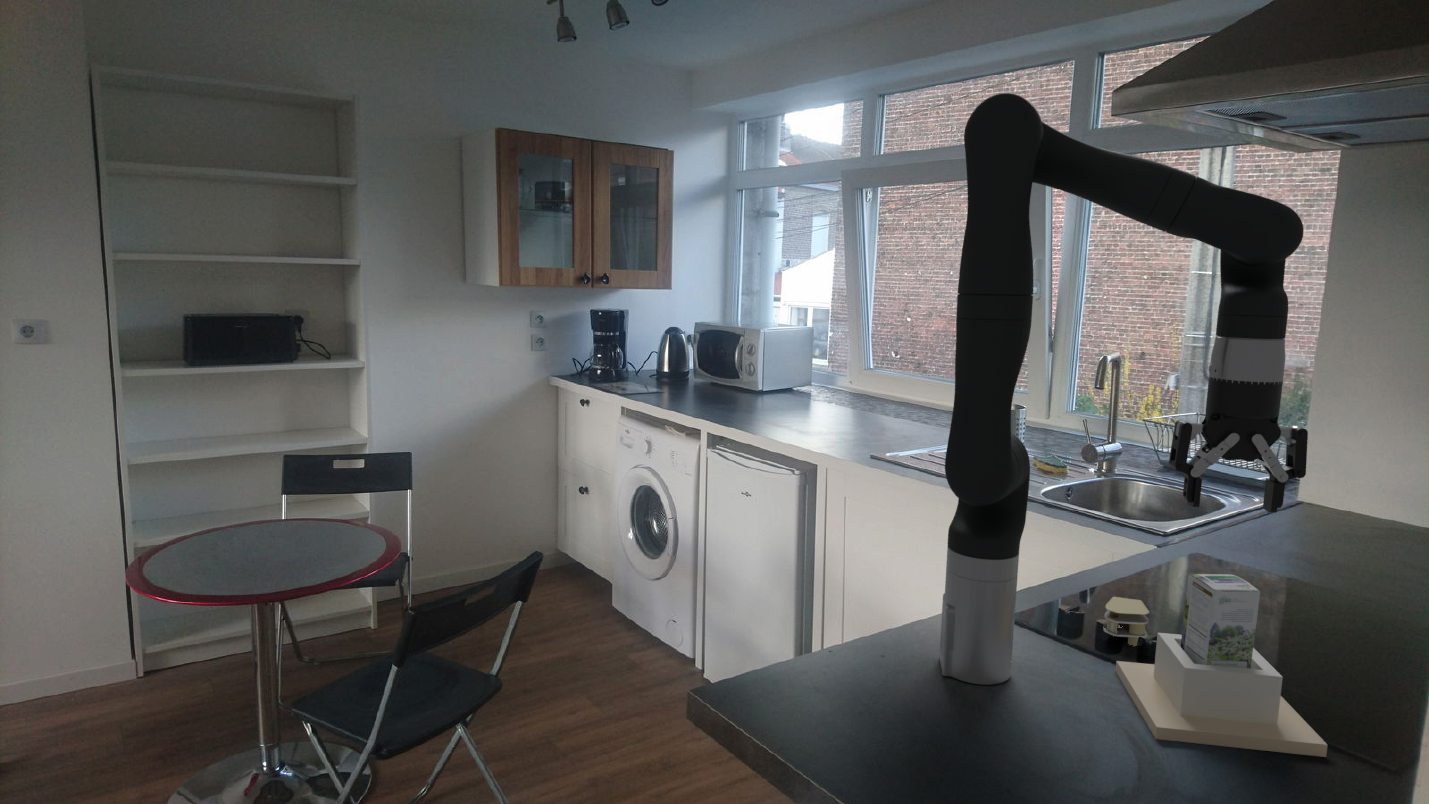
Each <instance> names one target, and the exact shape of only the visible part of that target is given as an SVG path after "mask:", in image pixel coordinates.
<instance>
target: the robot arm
mask: <svg viewBox="0 0 1429 804" xmlns="http://www.w3.org/2000/svg"><path fill="white" fill-rule="evenodd" d="M963 143H964V152H965V164H966V165H965V166H966V167H965V168H966V180H967V181H966V184H967V185H966V186H967V191H966V192H967V210H966V211H967V215H966V223H965V229H964V236H963V243H962V248H961V256H960V265H959V273H958V274H959V275H958V285H957V295H956V318H955V326H956V327H955V329H956V331H955V334H956V335H955V337H956V338H955V356H954V357H955V359H954V399H953V406H952V407H953V408H952V414H951V422H950V427H949V434H948V439H947V440H948V441H947V446H946V451H945V452H946V453H945V460H944V473H945V478H946V481H947V484H948V486H949V488H950V490H951V491H952V493H953V494H954V496H956V497H957V499H958V500H957V507H956V508H955V513H954V516H953V518H952V520H951V523H950V525H949V526H948V533H947V550H946V569H945V585H944V586H945V587H944V593H943V594H942V607H941V608H942V609H941V623H940V624H941V625H940V627H941V628H940V644H939V662H940V668H941V675H942V676H944V677H952V678H954V679H957V680H959V681H962V682H966V683H969V684H974V685H975V684H976V685H987V686H988V685H998V684H1002V683H1004V682H1007V681H1008V680H1009V679H1010V678H1011V675H1012V665H1013V649H1014V631H1015V617H1016V606H1017V605H1016V601H1017V586H1018V577H1019V575H1018V574H1019V561H1020V560H1019V559H1020V547H1021V540H1022V536H1023V532H1024V530H1025V526H1026V520H1027V511H1028V502H1029V500H1028V499H1029V490H1030V489H1029V488H1030V478H1031V477H1030V476H1031V462H1030V457H1029V453H1028V449H1027V448H1026V446H1025V445H1024V442H1022V440H1021V439H1020V438H1019V437H1018V436H1017V435H1015V434H1013V433H1012V405H1013V397H1014V394H1015V393H1014V392H1015V388H1016V385H1017V382H1018V379H1019V375H1020V372H1021V368H1022V366H1023V363H1024V360H1025V356H1026V353H1027V350H1028V345H1029V341H1030V336H1031V329H1032V328H1031V327H1032V318H1033V317H1032V316H1033V301H1034V259H1033V255H1034V254H1033V246H1032V245H1033V244H1032V243H1033V242H1032V236H1031V235H1032V234H1031V224H1030V223H1031V221H1030V207H1031V206H1030V205H1031V204H1030V203H1031V195H1032V187H1033V184H1038V185H1041V186H1042V185H1043V186H1046V187H1049V188H1053V189H1056V190H1059V191H1063V192H1065V193H1068V194H1070V195H1074V196H1076V197H1079V198H1082V199H1084V200H1086V201H1089V202H1091V203H1094V204H1096V205H1098V206H1100V207H1103V208H1106V209H1108V210H1110V211H1112V212H1114V213H1117V214H1120V215H1121V216H1124V217H1126V218H1128V219H1131V220H1134V221H1136V222H1138V223H1141V224H1144V225H1146V226H1149V227H1151V228H1153V229H1156V230H1160V231H1162V232H1164V233H1167V234H1169V235H1172V236H1175V237H1180V238H1184V239H1192V240H1193V239H1194V240H1195V241H1198V242H1201V243H1202V244H1203V243H1204V244H1206V245H1207V246H1211V247H1213V248H1215V249H1218V250H1220V253H1219V255H1220V257H1219V258H1220V259H1219V260H1220V261H1219V265H1220V266H1219V267H1220V274H1219V275H1220V288H1221V289H1220V300H1219V304H1218V305H1219V306H1218V311H1217V319H1216V320H1217V321H1216V328H1215V330H1216V331H1215V338H1214V343H1213V347H1212V351H1211V355H1210V363H1209V365H1208V373H1209V374H1208V385H1207V392H1206V403H1205V414H1204V415H1205V416H1204V418H1203V420H1202V422H1201V423H1196V422H1187V421H1185V420H1184V419H1178V420H1176V421H1175V423H1174V429H1173V434H1172V439H1171V440H1172V441H1171V446H1170V452H1169V459H1168V465H1169V466H1170V467H1171V468H1173V469H1175V470H1176V471H1177V472H1181V473H1183V474H1184V478H1183V479H1184V480H1183V488H1182V489H1183V490H1182V498H1183V500H1185V501H1186V502H1187V505H1189V506H1190V507H1191V508H1199V507H1200V503H1201V497H1202V496H1201V493H1202V485H1203V484H1202V483H1203V478H1202V477H1201V475H1203V473H1204V472H1206V470H1208V469H1209V468H1210V466H1213V465H1214V464H1215V463H1217V462H1219V460H1220V459H1222V460H1224V461H1225V460H1226V461H1237V460H1242V461H1244V462H1245V461H1246V462H1255V461H1257V462H1258V463H1259V464H1260V465H1261V466H1262V468H1263V469H1264V470H1265V472H1266V473H1267V474H1268V476H1269V478H1265V486H1264V493H1263V494H1264V495H1263V500H1262V502H1263V503H1262V508H1263V509H1264V510H1265V511H1266V512H1268V513H1277V511H1278V509H1281V508H1282V506H1283V504H1284V499H1285V498H1284V497H1285V490H1286V489H1285V488H1286V483H1287V482H1288V481H1289V480H1293V479H1297V478H1298V479H1302V478H1304V477H1305V476H1306V474H1307V460H1308V459H1307V457H1308V455H1307V454H1308V442H1309V441H1308V437H1309V433H1308V430H1307V429H1306V428H1304V427H1302V426H1299V425H1295V424H1292V425H1289V426H1279V421H1278V420H1279V416H1280V412H1281V411H1280V409H1281V402H1282V401H1281V399H1282V395H1283V394H1282V392H1283V391H1282V390H1283V384H1284V374H1285V366H1286V334H1287V325H1288V315H1289V297H1288V295H1287V292H1286V290H1285V288H1284V283H1285V281H1284V280H1285V274H1286V273H1285V271H1286V270H1285V269H1286V260H1287V258H1289V257H1290V256H1291V255H1292V254H1294V253H1295V252H1296V251H1297V249H1298V248H1299V247H1300V245H1301V243H1302V241H1303V237H1304V225H1303V222H1302V219H1301V218H1300V216H1299V214H1298V213H1297V212H1296V210H1294V209H1293V208H1291V207H1289V206H1288V205H1286V204H1284V203H1282V202H1280V201H1276V200H1274V199H1271V198H1267V197H1266V196H1261V195H1258V194H1255V193H1250V192H1246V191H1243V190H1240V189H1239V190H1238V189H1235V188H1232V187H1225V186H1223V185H1220V184H1219V185H1218V184H1216V183H1214V182H1211V181H1209V180H1206V179H1205V178H1203V177H1200V176H1197V175H1195V174H1192V173H1189V172H1187V171H1183V170H1182V169H1178V168H1175V167H1173V166H1170V165H1167V164H1165V163H1161V162H1158V161H1154V160H1153V159H1148V158H1143V157H1140V156H1135V155H1132V154H1127V153H1123V152H1118V151H1115V150H1109V149H1107V148H1102V147H1098V146H1094V145H1092V144H1089V143H1087V142H1083V141H1081V140H1078V139H1076V138H1074V137H1071V136H1069V135H1067V134H1065V133H1063V132H1061V131H1059V130H1057V129H1055V128H1054V127H1052V126H1050V125H1049V124H1047V123H1045V122H1044V121H1042V117H1041V115H1040V114H1039V112H1038V110H1037V108H1036V107H1035V106H1034V105H1033V104H1032V103H1031V102H1030V101H1029V100H1028V99H1026V98H1025V97H1022V96H1021V95H1019V94H1016V93H1011V92H1003V93H997V94H994V95H991V96H989V97H987V98H986V99H984V100H983V101H981V103H979V104H978V105H977V106H976V107H975V109H973V111H972V113H971V114H970V116H969V118H968V119H967V122H966V124H965V128H964V133H963ZM1198 434H1200V435H1202V438H1204V440H1205V442H1204V443H1203V445H1201V446H1200V448H1199V449H1198V450H1197V451H1196V452H1195V454H1194V456H1193V457H1192V458H1191V459H1190V460H1189V461H1188V458H1189V456H1188V455H1189V451H1190V445H1191V441H1194V440H1195V439H1196V438H1197V435H1198ZM1280 438H1281V440H1282V442H1283V444H1285V445H1286V447H1285V448H1286V449H1285V466H1282V465H1281V462H1280V460H1279V458H1278V457H1277V456H1276V454H1275V452H1273V450H1272V449H1271V447H1272V446H1273V445H1274V444H1275V443H1276V442H1277V441H1278V440H1279V439H1280Z"/></svg>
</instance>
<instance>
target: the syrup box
mask: <svg viewBox="0 0 1429 804" xmlns="http://www.w3.org/2000/svg"><path fill="white" fill-rule="evenodd" d="M1260 597H1261V591H1260V590H1259V589H1258V588H1256V587H1255V586H1254V585H1252V583H1250V582H1248V581H1247V580H1245V579H1243V578H1241V577H1239V576H1237V575H1235V574H1227V573H1225V574H1222V573H1221V574H1220V573H1219V574H1218V573H1217V574H1216V573H1215V574H1212V573H1189V574H1188V578H1187V585H1186V594H1185V603H1184V604H1185V605H1184V613H1183V622H1182V632H1181V633H1182V634H1181V635H1182V639H1181V648H1182V649H1183V651H1184V652H1185V653H1186V654H1187V655H1188V657H1189V658H1190V659H1191V660H1192V662H1193V663H1194V664H1202V665H1213V666H1224V667H1235V668H1246V669H1250V668H1251V661H1252V653H1253V648H1254V644H1255V636H1256V630H1257V629H1256V628H1257V620H1258V615H1259V614H1258V613H1259V607H1260Z"/></svg>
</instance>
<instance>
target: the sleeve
mask: <svg viewBox="0 0 1429 804" xmlns="http://www.w3.org/2000/svg"><path fill="white" fill-rule="evenodd" d="M1156 634H1157V637H1156V645H1155V646H1156V647H1155V655H1154V659H1155V660H1154V663H1141V662H1132V661H1120V660H1116V661H1115V662H1116V663H1115V673H1116V674H1117V677H1118V678H1119V680H1120V681H1121V683H1122V685H1123V687H1124V688H1125V690H1126V692H1127V693H1128V695H1129V696H1130V698H1131V700H1132V701H1133V704H1134V705H1135V707H1136V708H1137V710H1138V712H1139V713H1140V715H1141V717H1142V718H1143V721H1144V722H1145V723H1146V725H1147V727H1148V729H1149V730H1150V733H1152V735H1153V737H1154V740H1160V741H1161V740H1162V741H1171V742H1180V743H1181V742H1183V743H1190V744H1200V745H1206V746H1207V745H1210V746H1217V747H1218V746H1219V747H1227V748H1228V747H1229V748H1236V749H1238V748H1239V749H1247V750H1257V751H1268V752H1276V753H1285V754H1294V755H1303V756H1312V757H1322V758H1323V757H1324V758H1326V757H1327V752H1328V747H1329V746H1328V744H1327V742H1325V741H1324V739H1323V738H1322V737H1321V736H1320V735H1319V734H1318V733H1317V732H1316V731H1315V730H1314V729H1313V727H1311V726H1310V724H1308V722H1307V721H1306V720H1304V718H1303V717H1302V716H1301V715H1300V714H1299V713H1298V712H1297V711H1296V709H1294V708H1293V707H1292V706H1291V705H1290V704H1289V702H1287V700H1285V698H1284V697H1283V696H1282V695H1281V694H1282V686H1283V678H1284V677H1283V675H1281V674H1280V672H1278V670H1276V669H1275V668H1274V667H1273V666H1272V665H1271V664H1270V663H1269V661H1268V660H1266V659H1265V658H1264V657H1263V655H1262V654H1260V653H1259V651H1257V650H1256V649H1255V647H1253V653H1252V661H1251V668H1250V669H1246V668H1235V667H1224V666H1213V665H1202V664H1194V663H1193V662H1192V660H1191V659H1190V658H1189V657H1188V655H1187V654H1186V653H1185V652H1184V651H1183V649H1182V648H1181V639H1182V634H1178V633H1166V632H1157V633H1156Z"/></svg>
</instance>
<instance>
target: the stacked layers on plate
mask: <svg viewBox="0 0 1429 804" xmlns="http://www.w3.org/2000/svg"><path fill="white" fill-rule="evenodd" d="M1105 609H1106V611H1105V612H1104V619H1105V620H1106V623H1107V629H1106V628H1104V627H1103V632H1104V633H1107V634H1109V635H1111V636H1112V637H1114V636H1115V637H1121V638H1122V637H1123V638H1126V640H1127V645H1128V644H1129V645H1128V646H1130V645H1133V646H1132V647H1135V646H1136V645H1137V641H1138V638H1139V637H1144V638H1146V637H1148V632H1147V630H1146V625H1147V624H1148V623H1149V618H1148V616H1146V615H1148V614H1150V611H1149V609H1148V608H1147V606H1146V605H1145V604H1144V602H1143V601H1142V600H1140V599H1134V598H1127V597H1119V596H1112V597H1111V598H1110V600H1109V601H1107V603H1106V604H1105ZM1118 624H1119V625H1120V627H1122V626H1123V627H1122V628H1123V629H1122V630H1119V631H1118V630H1117V628H1118Z"/></svg>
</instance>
